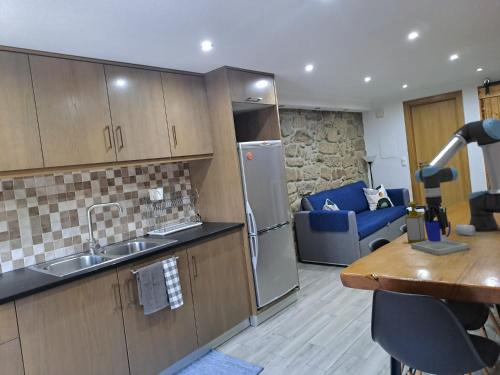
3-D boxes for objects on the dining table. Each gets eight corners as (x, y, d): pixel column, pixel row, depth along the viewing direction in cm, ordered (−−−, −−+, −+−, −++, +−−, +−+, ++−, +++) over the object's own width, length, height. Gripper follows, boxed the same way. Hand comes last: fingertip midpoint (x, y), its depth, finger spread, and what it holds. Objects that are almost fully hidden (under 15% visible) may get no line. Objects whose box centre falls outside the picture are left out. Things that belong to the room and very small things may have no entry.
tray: (439, 242, 200) (439, 238, 200) (469, 249, 181) (468, 244, 180) (411, 248, 196) (410, 243, 196) (438, 255, 177) (437, 250, 177)
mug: (454, 241, 182) (452, 221, 182) (428, 243, 185) (426, 223, 184) (449, 237, 190) (447, 218, 190) (424, 239, 193) (422, 221, 192)
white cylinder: (469, 237, 206) (456, 235, 213) (476, 233, 208) (463, 232, 216) (467, 227, 205) (454, 225, 213) (474, 223, 208) (461, 222, 215)
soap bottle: (428, 239, 212) (424, 199, 211) (421, 244, 203) (416, 202, 202) (415, 238, 217) (411, 199, 216) (408, 243, 208) (403, 202, 207)
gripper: (414, 196, 196) (418, 238, 197) (441, 197, 177) (446, 244, 178) (426, 194, 198) (430, 236, 199) (454, 195, 178) (459, 241, 179)
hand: (438, 239), depth 188 cm, fingers closed on mug, 7 cm apart
